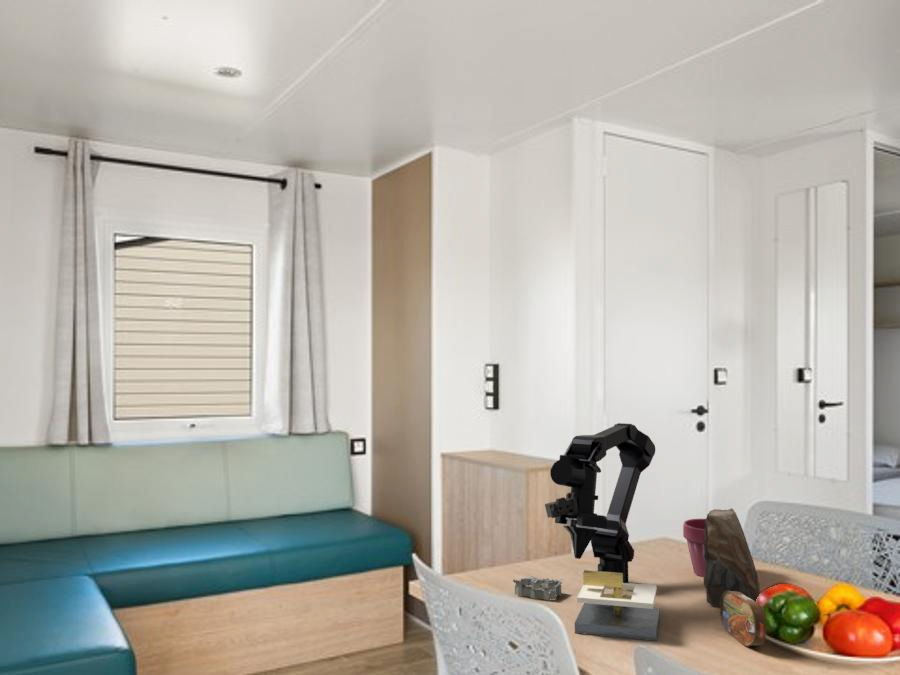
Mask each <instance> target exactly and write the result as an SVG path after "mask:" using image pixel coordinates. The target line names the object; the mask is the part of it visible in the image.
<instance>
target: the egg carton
mask: <svg viewBox="0 0 900 675" xmlns="http://www.w3.org/2000/svg"><path fill="white" fill-rule="evenodd" d="M563 580H564V579H555V580H554V579H550V578H538V577H536V576H533V575H529V576H525V577H523V578H521V579H520V580H519V579H518V580H517V579H513V580H512V582H513V583H514V595H515V596H517V597H529V598H530V599H543V598H544V599H543V600H544V601H546V600H549V601H551V600H550V599H556V600H557V596H556V595H561V596H562V583H563Z"/></svg>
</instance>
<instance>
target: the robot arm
mask: <svg viewBox="0 0 900 675" xmlns="http://www.w3.org/2000/svg"><path fill="white" fill-rule="evenodd" d="M612 448H616V449H617V450H618V451H619V453H618V455H619V459H620V462H621V469H620V472H619V475H618V478H617V481H616V485H615V487H614V490H613V495H612V498H611V501H610V504H609V507H608V511H607V513H606V515H602V514H598V513H595V504H596V503H595V502H596V501H598V500H599V495H596V490H597V478H598V476H597V475H598V473H601V472H602V469H601V468H600V466H599V465H598V464H597V462H600V461H601V460H603V459H604V458H605V457H606V456H607V451H608V450H611V449H612ZM655 454H656V446H655V443H654V442H653V441H652V439H651V438H650V436H649V435H647V434H645V433H644V432H642V431H641V430H639V429H638V428H637V426H636V425H635V424H632V423H623V422H622V423H621V422H619V423H615V424H613V426H611V427H609V428H606V429H605V430H602V431H600V432H597V433H595V434H584V435H583V434H580V435H575V436H574V437H573V438H572V439H571V442H570V444H569V445H568V446H567V448H566V450H565V452H564V454H560V455H559V459H558V460H556V461H555V462H554V463H553V464H552V467H551V468H550V473H549V475H550V478H551V480H552V482H553V483H555V484H556V485H560V486H563V487H567V488H568V487H569V488H570V492H567V493H566V496H565V497H560V498H559V497H558V498H556V499H555V501H552V502H548V503H544V508H545V512H546V516H547V518H548V519H549V518H551V519H554V523H555V524H560V525H563V529H565V530H566V531H567V532H568V533H569V534H570V539H571V544H572V551H573V556H574V558H575V559H579V560H580V559H582V557H583V555H584V553H585V551H586V549H587V547H588V546H589V544H590V545H591V548H592V554H593V557H594V558H597V559H599V563H597V571H601V572H615V573H623V583H631V582H630V581H629V562H630V563H631V562H633V560H634V557H635V549H634V548H633V545H632V544H631V543H630V541H629V539H630V538H629V537H630V534H629V531H628V528H627V520H628V517H629V514H630V510H631V506H632V502H633V500H634V497H635V494H636V490H637V486H638V484H639V480H640V476H641V473H642V472H643V471H644V470H646V469H647V468H649V466H650V465H651V462H652V460H653V458H654V456H655Z"/></svg>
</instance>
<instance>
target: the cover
mask: <svg viewBox="0 0 900 675" xmlns="http://www.w3.org/2000/svg"><path fill="white" fill-rule="evenodd" d="M657 586H658V585H656V584H645V583H644V584H642V583H641V584H640V583H633V582H632V583H631V582H630V583H623V587H622V591H625V590H626V591H633V592H632V595H631V596H632V598H631V600H629V599H617V598H605V597H602V596H603V594H605V590H606V589H612V590H613V587H603V586H590V585H582V587H581V589H580V591H579V593H578V594H577V597H576V603H578V604H579V603H580V604H584V603H590V604H602V605H613V606H625V607H637V608H649V609H653V608H655V603H656V602H655V601H656V596H657V591H658V588H657Z"/></svg>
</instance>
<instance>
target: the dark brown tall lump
mask: <svg viewBox="0 0 900 675" xmlns="http://www.w3.org/2000/svg"><path fill="white" fill-rule="evenodd" d="M705 519H706V520H705V522H704V524H705V529H704V530H705V544H704V547H705V548H704V549H705V552H704V558H705V565H706V571H705V573H704V577H703V585H704V588H705V591H706V602H707V604H709V605H710V606H711V608H714V609H715V608H716V609H720V602H721V598H722V595H723V593H724V592H725V591H736V592H741V593H742V594H744V595H745V596H747V597H749V598H750V599H752V600H754V601H755V602H756V599H757V597H758V596H759V594H760V593H761V592H762V589H761V586H760V582H759V577H758V576H759V575H758V573H757V570H756V569H757V568H756V567H755V562H754V560H753V556H752V553H751V550H750V548H749V544H748V541H747V538H746V535H745V532H744V529H743V527H742V524H741V522H740V519H739V517H738V515H737V513H736V512H735V510H734V508H731V507H730V508H729V509H720V508H718V509H715V508H714V509H712V510H710V511H709V512H708V513H707V514H706V518H705Z"/></svg>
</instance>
